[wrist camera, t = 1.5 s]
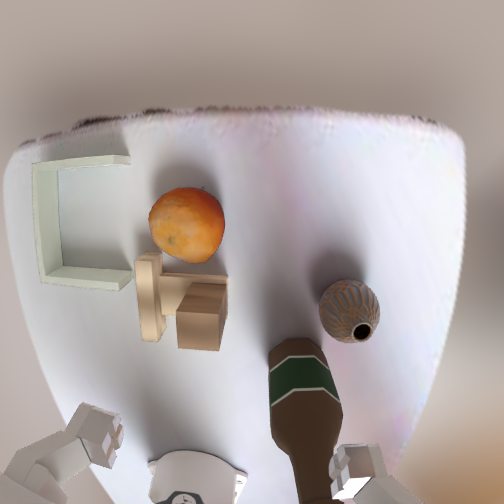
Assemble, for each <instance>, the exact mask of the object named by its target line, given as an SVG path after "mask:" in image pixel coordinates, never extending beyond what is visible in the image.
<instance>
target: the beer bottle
mask: <svg viewBox="0 0 504 504" xmlns="http://www.w3.org/2000/svg"><path fill="white" fill-rule="evenodd" d="M268 381H269V405H270V427H271V434H272V438H273V440H274V441H275V443H276V445H277V446H278V447H279V448H280V449H281V450H282V451H284V452H285V453H286V454H287V455H289V458H290V461H291V463H292V466H293V471H294V476H295V482H296V487H297V493H298V498H299V504H344V502H341V501H339V499H332V492H331V484H332V483H333V481H334V480H333V479H332V478H331V477H330V476H329V464H330V460H331V458H332V456H333V448H334V447H335V445H336V443H337V440H338V437H339V433H340V429H341V425H342V419H343V412H342V407H341V403H340V399H339V396H338V393H337V390H336V387H335V384H334V381H333V378H332V375H331V372H330V369H329V366H328V363H327V360H326V358H325V355H324V353H323V351H322V350H320V349H319V348H318V347H317V346H316V345H315V344H314V343H313V342H312V341H311V340H310V339H286V340H284V341H283V342H282V343H281V344H280V345H278V346H277V347H276V348H275V349H273V350H272V351H271V352H270V354H269V376H268Z"/></svg>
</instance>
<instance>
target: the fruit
mask: <svg viewBox="0 0 504 504" xmlns="http://www.w3.org/2000/svg"><path fill="white" fill-rule="evenodd" d="M203 188H204V187H202V189H201V190H200V189H197V188H178V189H174V190H172V191H170V192H168V193H166V194H164V195H162V196H161V198H160V199H159V200H158V201H157V202H156V203H155V204H154V205H153V207H152V209H151V211H150V213H149V219H148V220H149V226H150V230H151V234H152V237H153V240H154V242H155V244H156V245H157V246H158V247H160V248H161V249H162V250H163V251H164V252H166V253H167V254H169V255H171V256H173V257H175V258H178V259H180V260H182V261H185V262H188V263H204V262H206V261H207V260H208V259H209V258H210V257H211V256H212V255H213V254H214V253H215V251H216V250H217V248H218V247H219V245H220V244H221V241H222V238H223V234H224V229H225V220H224V214H223V210H222V208H221V205H220V203H219V202H218V201H217V200H216V198H215V197H213V196H212V195H210V194H209V193H207V192H205V191H203Z"/></svg>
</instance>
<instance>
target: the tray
mask: <svg viewBox="0 0 504 504" xmlns="http://www.w3.org/2000/svg"><path fill="white" fill-rule="evenodd" d="M129 164H130V156H123V155H103V156H91V157H81V158H72V159H63V160H55V161H47V162H39V163H32V201H33V219H34V232H35V242H36V251H37V259H38V266H39V273H40V280H41V283H47V284H56V285H64V286H73V287H82V288H92V289H102V290H113V291H120V290H121V289H122V288H123V287H124V286H125V285H127V284H128V283H129V282H130V281H131V280H132V279H133V271H130V270H115V269H100V268H86V267H73V266H63V258H62V249H61V238H60V226H59V209H58V170H61V169H72V168H83V167H96V166H111V165H129Z"/></svg>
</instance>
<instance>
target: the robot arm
mask: <svg viewBox="0 0 504 504" xmlns="http://www.w3.org/2000/svg"><path fill="white" fill-rule="evenodd" d="M120 421H121V418H120V414H117V413H113V412H110V411H107V410H104V409H101V408H98V407H96V406H93V405H90V404H87V403H84V402H83V403H81V404H80V405H79V407H78V408H77V410H76V412H75V413H74V415H73V417H72V419H71V420H70V422H69V424H68V426H67V427H66V429H65V431H59V432H56V433H55V434H52V435H50V436H48V437H46V438H44V439H42V440H40V441H38V442H35V443H33V444H31V445H29V446H27V447H25V448H22V449H20V450H18V451H17V452H16V453H15V455H14V457H13V458H12V460H11V462H10V463H9V465H8V467H7V469H6V470H5V472H4V474H2V473H1V472H0V504H66V502H67V499H68V496H67V494H66V493H65V491H64V490H63V489H62V488H61V486H60V485H61V484H62V483H64V482H65V481H67V480H68V479H70V478H71V477H73V476H74V475H76V474H77V473H79V472H80V471H82V470H83V469H85V468H86V467H87V466H89V465H90V464H91V463H94V464H97V465H100V466H103V467H106V468H109V469H112V466H113V464H114V461H115V459H116V457H117V456H116V453H115V450H117V449H118V448H120V446H121V444H122V441H123V436H124V430H123V426H122V425H121V424H120ZM148 469H149V470H150V472H151V473H152V475H153V477H152V481H151V486H150V490H149V498H150V499H151V501H152V502H153V503H154V504H235V503H236V501H237V499H238V497H239V495H240V493H241V491H242V489H243V487H244V485H245V483H246V481H247V477H248V475H247V474H246V473H244V472H241V471H239V470H236V469H234V468H233V467H231V466H230V465H229V464H228V463H226V462H225V461H223V460H221V459H219V458H217V457H215V456H212V455H209V454H206V453H202V452H196V451H174V452H170V453H167V454H165V455H164V456H162V457H161V458H160V459H159V460H156V461H151V462H149V463H148ZM329 476H330V477H331V478H332V479H333V480H334V481H333V483H332V484H331V492H332V499H344V498H353V500H354V501H355V503H356V504H424V503H423V502H422V501H420V500H419V499H418V498H417V497H416V496H415V495H413V494H412V493H411V492H410V491H409V490H408V489H406V488H405V487H404V486H403V485H402V484H401V483H399V482H398V481H397V480H396V479H395V478H394V477H393V476H392V475H390V476H388V473H387V470H386V466H385V463H384V459H383V456H382V452H381V449H380V446H379V444H378V443H370V444H345V445H340V446H339V447H338V448H337V454H335V455H333V456H332V458H331V460H330V464H329Z"/></svg>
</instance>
